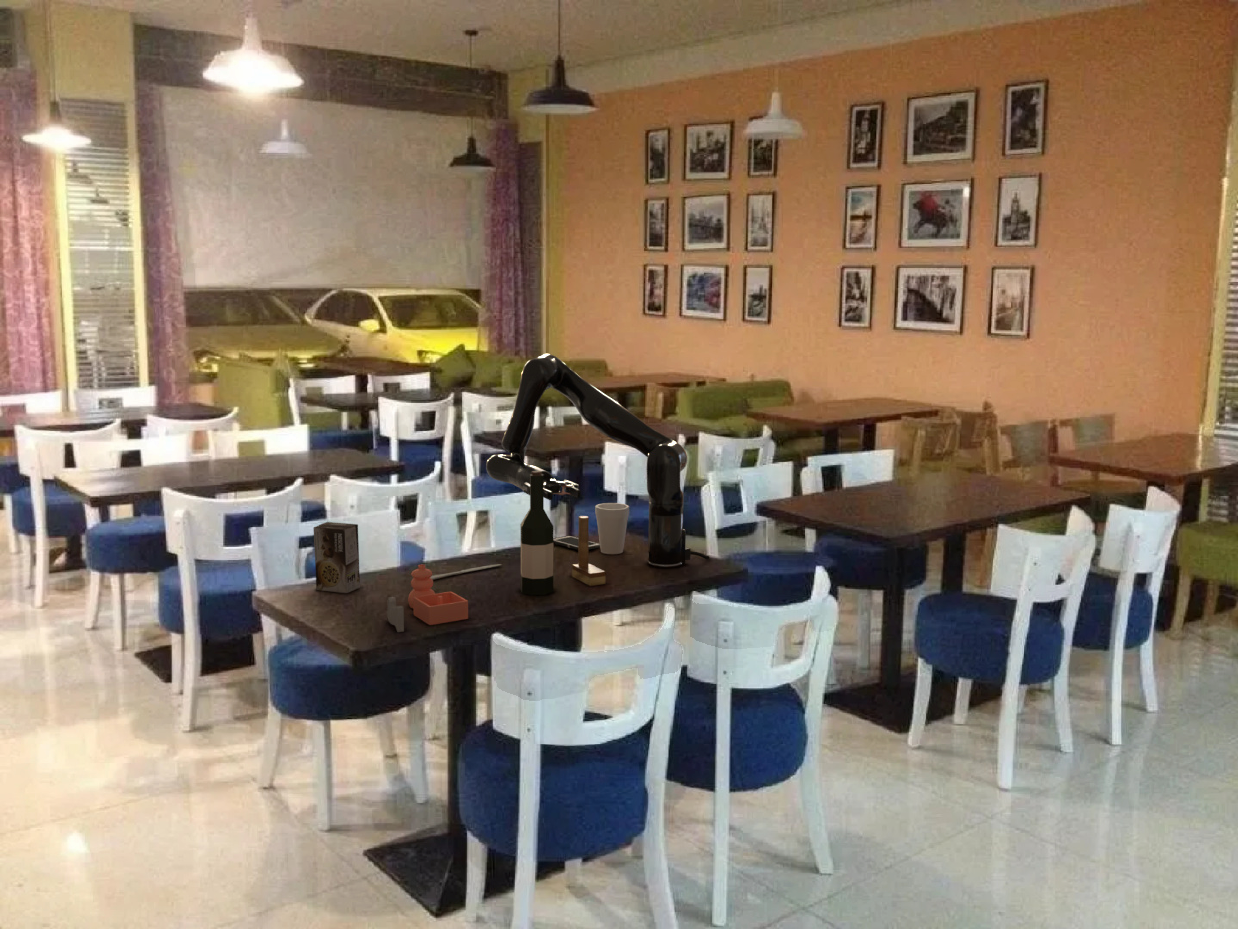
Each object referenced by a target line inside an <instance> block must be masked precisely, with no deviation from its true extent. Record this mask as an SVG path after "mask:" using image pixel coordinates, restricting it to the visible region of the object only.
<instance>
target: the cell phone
mask: <svg viewBox="0 0 1238 929" xmlns="http://www.w3.org/2000/svg"><path fill="white" fill-rule="evenodd" d="M553 544H554V545H559V546H561V547H566V548H569V549H573V550H576V551H578V537H577V536H573V535H563V536H558V537H553ZM594 549H600V542H595V541H591V540H588V551H590V550H594Z"/></svg>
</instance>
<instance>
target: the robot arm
mask: <svg viewBox="0 0 1238 929" xmlns="http://www.w3.org/2000/svg"><path fill="white" fill-rule="evenodd" d="M519 381H520V382H519V387H518V392H517V395H516V400H515V404H514V408H513V411H512V414H511V416H510V420H509V422H508V423H507V427H506V430H505V432H504V435H503V437H502V441H501V447H502V448H503V450H505V451H506V452H507V453H510V454H500V453H497V454H493V455H491V456H490V457H489V458H488V459H487V461H486V464H485V470H486V472H487V474H488V476H489V477H490V478H492V479H493V480H496V481H499V482H503V483H507V484H511V485H513V486H516V487H517V488H519V489H521V491H523V493H524V494H526V495H528V496H530V475H531V474H532V471H541V472H542V474H543V475H544V499H545V500H548V501H552V500H553V498H554V497H553V495H557V496H565V495H569V496H571V497H574V498H576V499H579V498H580V497H581V492H582V491H581V489H579V487H580V486H579V484H578V483H576V482H573V481H571V480H567V479H564V480H563V481H560V480H557V479H555V478H554V476H553V475H552V474H551V472H549V471H547V470H544V469H542V468H541V467H538V466H536V465H534V464H533V465H532V464H529V463H527V462H525V459H526V450H527V447H528V444H529V442H530V440H531V439H530V438H531V437H532V434H533V430H534V427H535V418H536V416H535V415H536V410H537V407H538V404H539V402H540V400H541V398H542V396H543V395H544V393H545V392H546V391H547V390H549V389H550V388H551V389H553V390H555V391H556V392H558V393H559V394H561V395H563V396H565V398H567V399H568V400H569V401H570V402H571V403H572V404H573V406H574V407H575V409H576V410H577V412H578V413H579V415H580V416H581V418H582V419H583V420H584V421H585V422H586V423H587V424H589V425H590V426H591V427H592V428H593V429H595V430H596V431H598V432H599V433H601V434H603V435H604V436H606V437H607V438H610V439H611V440H614V441H616V442H619V443H622V444H624V445H626V446H628V447H631V448H632V449H634V450H637V451H638V452H640V453H641V454H642V455H644V456H645V457H646V491H647V493H648V540H647V541H648V542H647V544H648V545H647V546H648V547H647V551H646V556H647V565H649V566H651V567H655V568H661V569H671V568H678V567H681V566H683V565H686V561H690V560H691V555H692V556H693V555H694V556H698V557H701V558H703V559H705V560H709V559H710V556H709V555H706V554H704V553H702V552H698V551H691V548H689V547H687V546H686V542H687V541H686V539H687V538H686V536H687V530H686V529H684V492H683V491H682V488H681V472H682V471H683V470H684V469H685V468H686V467H687V465H688V454H687V451H686V450H685V448H684V447H683V446H682V444H680V443H679V442H677V441H675V440H674V439H672V438H670V437H668V436H666V435H665V434H663V433H661V432H660V431H657V430H655V429H654V428H652V427H651V426H649V425H648V424H646V423H645V422H644V421H643V420H641V419H640V418H639V417H638V416H636V415H635V414H634V413H632V412H631V411H629V410H628V409H626V408H625V407H624V406H622V404H620V403H619V402H617V401H616V400H615V399H613V398H611V396H609V395H607V394H605V393H604V392H603V391H601V390H600V389H598V388H597V387H595V385H593V384H591V383H589V382H588V381H587V380H585V379H583V377H581V376H580V375H578V374H577V373H576V372H575V371H574V370H573V369H571V367H569V366H568V365H567V364H566V363H565V362H564V361H562V360H561V359H560V358H559V357H557V356H556V355H554V354H550V353H543V354H540V355H538V356H535V357H533V358H531V359H529V360H528V361H527V362H526V363H525V364H524V366H523V369H522V372H521V376H520V380H519Z"/></svg>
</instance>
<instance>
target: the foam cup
mask: <svg viewBox="0 0 1238 929" xmlns="http://www.w3.org/2000/svg"><path fill="white" fill-rule="evenodd" d="M594 507H595V509H594V510H595V513H594V515H595V516H596V517H595V518H596V524H597V532H598V541H599V542H598V543H599V544H600V547H599V549H600V552H601V553H602V554H606V555H618V554H622V553H623V552H624V550H625V549H624V547H625V542H626V533H627V527H628V519H629V516H630V506H629V505H628V504H625V503H620V502H603V503H599V504H596V505H595V506H594Z"/></svg>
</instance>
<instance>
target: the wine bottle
mask: <svg viewBox="0 0 1238 929" xmlns="http://www.w3.org/2000/svg"><path fill="white" fill-rule="evenodd" d="M544 499H545V498H544V475H543V474H542V472H541V471H532V474H531V475H530V495H529V509H528V511H527V512H526V515H525V516H524V517H523V519H522V521H521V522H520V591H521V594H522V595H523V594H524V595H528V596H546V595H548V594H549V595H550V594H552V593H554V543H553V538H554V525H553V523H552V521H551V518H549V516H548V514H547V513H546V510H545V509H544V505H545V503H544V502H545V501H544Z"/></svg>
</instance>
